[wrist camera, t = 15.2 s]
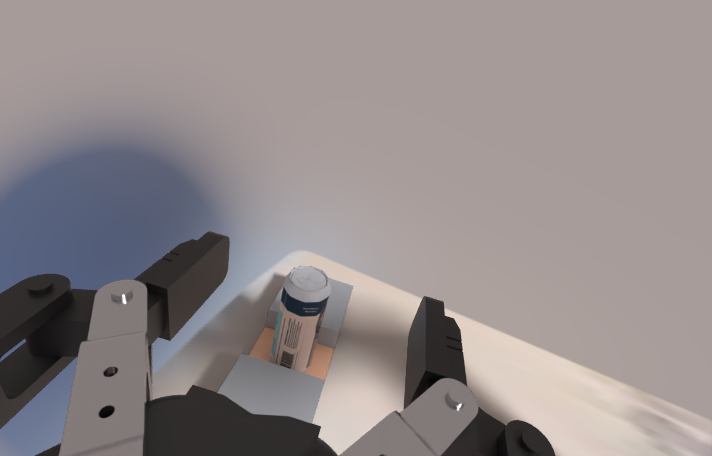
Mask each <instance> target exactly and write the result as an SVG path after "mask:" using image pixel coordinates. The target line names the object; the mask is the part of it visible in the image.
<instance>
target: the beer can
mask: <svg viewBox="0 0 712 456" xmlns="http://www.w3.org/2000/svg"><path fill="white" fill-rule="evenodd" d="M328 279H329V278H328V277H327V275H326V274H325V273H324V272H323V271H322V270H320V269H317V268H315V267H312V266H299V267H297V268H295V269H293V270H291V272H290V273H289V274H288V275H287V276H286V278H285V280H284V282H283V291H282V296H281V302H280V307H279V312H278V318H277V323H276V328H275V334H274V339H273V344H272V350H271V353H270V361H271V363H274V364H277V365H280V366H283V367H286V368H289V369H292V370H296V371H299V372H304V371H306V370H307V369H308V368H309V366H310V365H311V362H312V357H313V353H314V350H315V346H316V342H317V339H318V335H319V331H320V328H321V324H322V320H323V317H324V313H325V309H326V306H327V302H328V298H329V295H330V292H331V285H330V282H329V280H328Z"/></svg>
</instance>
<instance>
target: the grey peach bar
mask: <svg viewBox="0 0 712 456" xmlns="http://www.w3.org/2000/svg"><path fill="white" fill-rule="evenodd" d="M294 269H295V268H294ZM328 280H329V282H330V285H331V292H330V295H329V298H328V302H327V306H326V309H325V313H324V317H323V320H322V324H321V328H320V331H319V335H318V339H317V342H316V346H315V350H314V353H313V357H312V362H311V365H310V366H309V368H308V369H307V370H306V371H304V372H299V371H296V370H292V369H289V368H286V367H283V366H280V365H277V364H274V363H271V361H270V353H271V350H272V344H273V339H274V334H275V328H276V323H277V318H278V312H279V307H280V302H281V296H282V291H283V287H282V288H281V290H280V291H279V293H278V295H277V296H276V298H275V300H274V301H273V303H272V304H271V306H270V308H269V309H268V315H267V321H266V327H265V328H264V330H263V332H262V333H261V335H260V337H259V338H258V340H257V342H256V343H255V345H254V347H253V349H252V350H251V352H250V354H249V355H246V354H243V353H241V355H240V356H239V358H238V360H237V361H236V363H235V365H234V366H233V368H232V369H231V371H230V373H229V374H228V376H227V378H226V379H225V381H224V382H223V384H222V386H221V387H220V389H219V391H218V392H217V393H219V394H223V395H225V396H226V397H228V398H229V399H231V400H232V401H234V402H235V403H237V404H238V405H240V406H241V407H243V408H244V409H246V410H247V411H248V412H250V413H253V414H261V415H278V416H290V417H293V418H296V419H299V420H302V421H306V422H309V423H312V421H313V418H314V414H315V411H316V408H317V404H318V401H319V398H320V394H321V391H322V388H323V385H324V381H325V378H326V375H327V371H328V368H329V365H330V361H331V358H332V355H333V351H334V348H335V345H336V342H337V338H338V335H339V332H340V329H341V325H342V322H343V319H344V315H345V312H346V309H347V305H348V302H349V299H350V296H351V292H352V289H353V286H352V285H349V284H346V283H342V282H339V281H336V280H333V279H330V278H329V279H328Z"/></svg>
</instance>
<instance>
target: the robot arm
mask: <svg viewBox="0 0 712 456" xmlns="http://www.w3.org/2000/svg"><path fill="white" fill-rule="evenodd" d="M228 260H229V238H228V237H227V236H224V235H221V234H217V233H214V232H207V233H206V234H205V235H203V237H201V238H200V239H199V240H193V239H192V240H190V241H187V242H184V243H182V244H179V245H178V246H177V247H175V248H174V249H173V250H171V251H170V253H168V254H166V255H165V256H164V257H163V258H162V259H160V260H159V261H157V262H156V263H155V264H153V265H152V266H151V267H150V268H148V269H147V270H146V271H144V272H143V273H142V274H141V275H139V276H138V277H137V278H135V279H134V280H119V281H115V282H111V283H109V284H107V285H105V286H103V287H102V288H100V289H99V290H81V289H71V285H70V281H69V279H68V278H66V277H65V276H62V275H58V274H43V275H37V276H33V277H30V278H27V279H25V280H23V281H21V282H19V283H17V284H16V285H14V286H12V287H11V288H9V289H7V290H6V291H4V292H2V293H1V294H0V358H1V357H2V356H3V355H4V354H5V353H6V352H8V351H9V350H10V349H12V348H13V347H14V346H16V345H17V344H18V343H19V342H21V341H22V340H23V339H26V342H25V343H24V344H23V345H21V346H20V347H19V348H18V349H16V350H15V351H14V352H12V353H11V354H10V355H9V356H7V357H6V358H5V359H4V360H3V361H1V362H0V429H1V428H2V427H3V426H4V425H5V424H6V423H7V422H8V421H9V420H10V419H11V418H12V417H14V416H15V415H16V414H17V413H18V412H19V411H20V410H21V409H22V408H23V407H24V406H25V405H26V404H27V403H28V402H29V401H30V400H31V399H33V397H35V396H36V395H37V394H38V393H39V392H40V391H41V390H42V389H43V388H44V387H45V386H46V385H47V384H48V383H49V382H50V381H52V379H54V378H55V377H56V376H57V374H59V373H60V372H61V371H62V370H63V369H64V368H65V367H66V366H67V365H68V364H69V363H70V362H72V360H74V359H75V358H76V357H78V359H77V364H76V370H75V375H74V380H73V385H72V390H71V396H70V401H69V406H68V411H67V416H66V422H65V427H64V432H63V437H62V443H60V444H58V445H56V446H54V447H52V448H50V449H48V450H46V451H44V452H42V453H40V454H38V455H35V456H338V455H337V454H336V453H335V451H334V450H333V449H332V448H331V447H330V446H329V445H328V444H326V443H325V442H324V441H323V440H321V439H320V438H318V435H319V432H320V428H321V426H318V425H315V424H312V423H309V422H306V421H302V420H299V419H296V418H293V417H290V416H278V415H261V414H253V413H250V412H248V411H247V410H246V409H244V408H243V407H241V406H240V405H238V404H237V403H235V402H234V401H232V400H231V399H229V398H228V397H226V396H225V395H223V394H219V393H216V392H213V391H210V390H207V389H204V388H201V387H198V386H195V385H192V387H191V388H190V390H189V391H188V393H187V394H186V395H172V396H166V397H161V398H158V399H154V400H153V374H152V343H153V342H154V341H155V340H156V339H157V338H158V337H159V338H163V339H166V340H169V341H170V340H171V339H172V338H173V337H174V336H175V335H176V334H177V333H178V331H179V330H180V329H181V328H182V327H183V326H184V325H185V324H186V322H187V321H188V320H189V319H190V318H191V317H192V316H193V315H194V313H195V312H196V311H197V310H198V309H199V308H200V307H201V306H202V305H203V303H204V302H205V301H206V300H207V299H208V298H209V297H210V295H211V294H212V293H213V292H214V291H215V290H216V289H217V287H219V285H220V284H221V283H222V282H223V280H224V279H225V277H226V274H227V271H228ZM461 341H462V340H461V332H460V329H459V327H458V325H457V323H456V322H455V320H454V318H450V317H447V316H445V312H444V302H443V301H439V300H436V299H433V298H430V297H426V296H424V297H423V299H422V301H421V303H420V306H419V308H418V311H417V313H416V315H415V318H414V320H413V323H412V325H411V328H410V332H409V337H408V349H407V365H406V381H405V397H404V410H403V411H402V412H400V413H398V412H397V411H394V412H392V413H390V414H389V415H388V416H387V417H385V418H384V419H383V420H382V421H380V422H379V423H378V424H377V425H376V426H374V427H373V428H372V429H371V430H370V431H368V432H367V433H366V434H365V435H364V436H362V437H361V438H360V439H359V440H358V441H356V442H355V443H354V444H353V445H351V446H350V447H349V448H348V449H347V450H345V451H344V452H343V453H342V454H341V455H339V456H555V453H554V450H553V448H552V446H551V444H550V442H549V441H548V439H547V438H546V437H545V436H544V435H543V434H542V433H541V432H540V431H539V430H538V429H537V428H535V427H534V426H532V425H531V424H529V423H527V422H524V421H520V420H514V421H511V422H509V423H508V424H507V426H506V425H504V424H503V423H501V422H499V421H498V420H496V419H495V418H493V417H491V416H490V415H488V414H487V413H485V412H484V411H483V410H482V409H480V408H479V407H478V403H477V400H476V397H475V396H474V394H473V393H472V391H471V390H470V389H469V388H468V387H467V381H466V373H465V365H464V357H463V352H462V350H463V348H462V343H461Z"/></svg>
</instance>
